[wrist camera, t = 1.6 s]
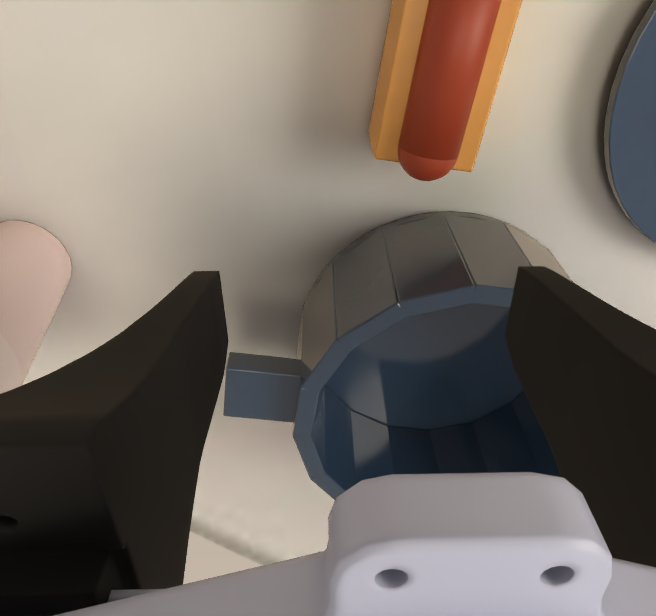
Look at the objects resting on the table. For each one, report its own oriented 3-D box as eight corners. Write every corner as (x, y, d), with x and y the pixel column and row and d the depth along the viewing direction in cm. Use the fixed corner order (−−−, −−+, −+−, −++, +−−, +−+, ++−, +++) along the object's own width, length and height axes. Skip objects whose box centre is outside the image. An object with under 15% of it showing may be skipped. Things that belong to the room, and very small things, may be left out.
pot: (250, 183, 22) (230, 255, 17) (675, 239, 24) (771, 320, 19) (233, 413, 29) (215, 514, 24) (565, 445, 30) (614, 545, 25)
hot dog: (416, -134, 17) (439, -151, 13) (525, -113, 17) (575, -125, 14) (365, 145, 21) (374, 182, 18) (452, 157, 22) (476, 196, 18)
